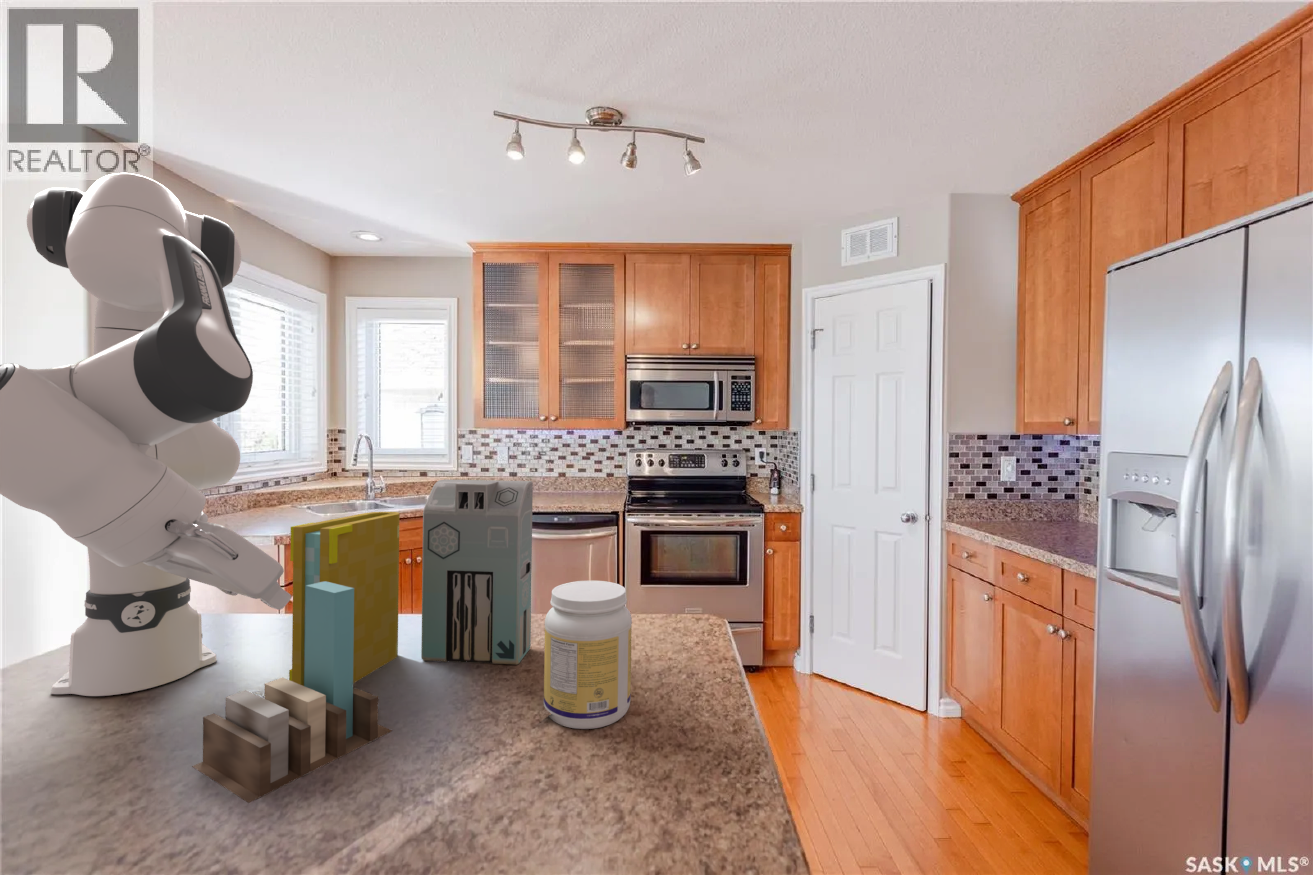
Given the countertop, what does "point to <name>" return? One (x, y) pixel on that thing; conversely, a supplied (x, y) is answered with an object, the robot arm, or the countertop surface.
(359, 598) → the book
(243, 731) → the rack
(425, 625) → the device
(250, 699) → the offcut front
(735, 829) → the countertop surface
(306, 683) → the tall sheet
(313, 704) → the block
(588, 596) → the supplement tub
